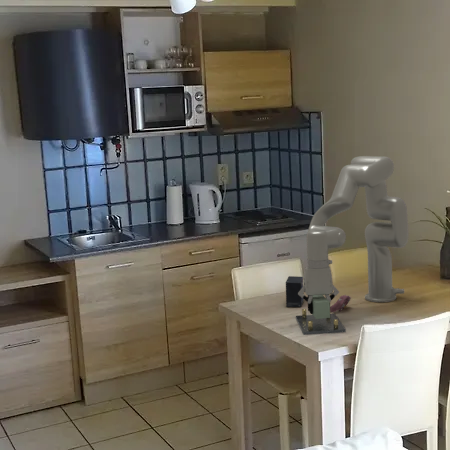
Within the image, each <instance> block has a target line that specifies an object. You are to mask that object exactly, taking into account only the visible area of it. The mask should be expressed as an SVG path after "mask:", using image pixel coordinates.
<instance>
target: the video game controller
mask: <svg viewBox="0 0 450 450" xmlns="http://www.w3.org/2000/svg"><path fill="white" fill-rule="evenodd" d="M351 299H352V297H351V296H350V295H347V294H344V295H343V294H342V295H341V296H339V298H337V301H335V302H334V304H332V305H330V313H336V312H338V311H340V312H342V310H344V309H345V308H347V305H348V304H349V303H350V301H351Z"/></svg>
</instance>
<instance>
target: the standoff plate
mask: <svg viewBox="0 0 450 450" xmlns="http://www.w3.org/2000/svg"><path fill="white" fill-rule="evenodd" d="M295 320H296V322H297V325H298V326H299V328H300V330H301V333H302V335H303V336H304V335H305V336H306V335H321V334H336V333H337V334H339V333H346V327H345V326H344V325H343V324H342V322H341V320H340V319H339V318H338V316H337V314H336V312H333V313H330V318H322V319H316V318H315V317H314V316H313V315H312V314H307V308H302V309H301V315H295Z"/></svg>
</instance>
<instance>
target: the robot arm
mask: <svg viewBox="0 0 450 450" xmlns="http://www.w3.org/2000/svg"><path fill="white" fill-rule="evenodd" d="M394 170H395V163H394V160H392V159H391V157H389V156H384V155H383V156H380V155H379V156H375V155H361V156H359V155H358V156H355V157H353V158H352V159H351V160H350V164H347V165H344V166H343V167H342V168H341V170H340V172H339V175H338V178H337V181H336V182H335V186H334V189H333V191H332V194H331V196H330V199H329V200H328V201H326V202H325V203H324V204H322V206H320V207H319V208H318V210H316V212H315V213H314V214H313V216H312V217H311V220H310V223H309V227H308V230H307V233H306V258H307V260H306V261H307V263H306V264H307V266H306V267H305V268H304V272H303V273H304V275H303V287H302V289H301V290H300V291H299V292H298V295H299V296H301V297H302V298H303V299H304V302H306V303H307V311H308V312H309V311H310V312H309V315H312V314H313V307H312V302H311V300H312V297H313V296H315V295H323V296H324V297H325V298H326V299H327V300H328V301H330V303H331V302H332V301H333V300H334V298H335V297H336V296H337V295H339V294H340V291H339V290H338V288H337V287H336V286H335V285H334V284H333V276H332V270H331V266H330V265H333V260H332V259H329V249H333V248H334V249H335V248H339V247H342V246H343V245H344V244H345V242H346V240H347V236H346V231H344V230H343V228H340V227H337V226H329V225H328V226H326V225H325V224H326V223H328V222H327V221H329V220H330V219H331V218H332V217H334V216H336V215H338V214H341V213H344V212H346V211H348V210H350V209H351V208H352V207H353V205H354V203H355V201H356V200H355V199H356V198H357V195H358V191H359V188H364V193H365V205H366V213H367V216H368V218H370V219H373V220H378V221H375V222H373V221H372V222H371V223H369V224H367V226H366V227H365V229H364V239H365V243H366V250H367V277H368V280H367V283H368V287H367V288H368V289H367V291H368V292H367V294H365V295H364V299H365V301H369V302H373V303H389V302H390V303H391V302H393V301H395V300H397V295H398V294H400V295H402V294H405V288H400V287H399V288H394V286H393V256H392V252H391V251H390V248H395V249H396V248H397V249H398V248H404V247H405V246H406V245H407V244H408V242H409V236H410V235H409V234H410V233H409V217H408V216H409V215H408V207H407V204H406V202H405V200H404V199H403V198H401V197H399V196H390V195H389V194H388V189H387V188H388V186H387V182H386V181H387V180H389V179H390V177H391V176H392V175H393V174H394ZM382 221H383V222H382ZM384 221H390V222H384ZM303 293H305V294H303ZM306 295H307V296H306Z"/></svg>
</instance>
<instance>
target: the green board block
mask: <svg viewBox="0 0 450 450" xmlns="http://www.w3.org/2000/svg"><path fill="white" fill-rule="evenodd" d="M311 302H312V307H313V314H311V315H313V316H314V317H315V318H316V319H322V318H330V314H331V312H330V307H331V302H330V301H328V300H327V299H326V296H325V295H315V296H313V297H312V300H311ZM308 312H309V313H310V311H308Z"/></svg>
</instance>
